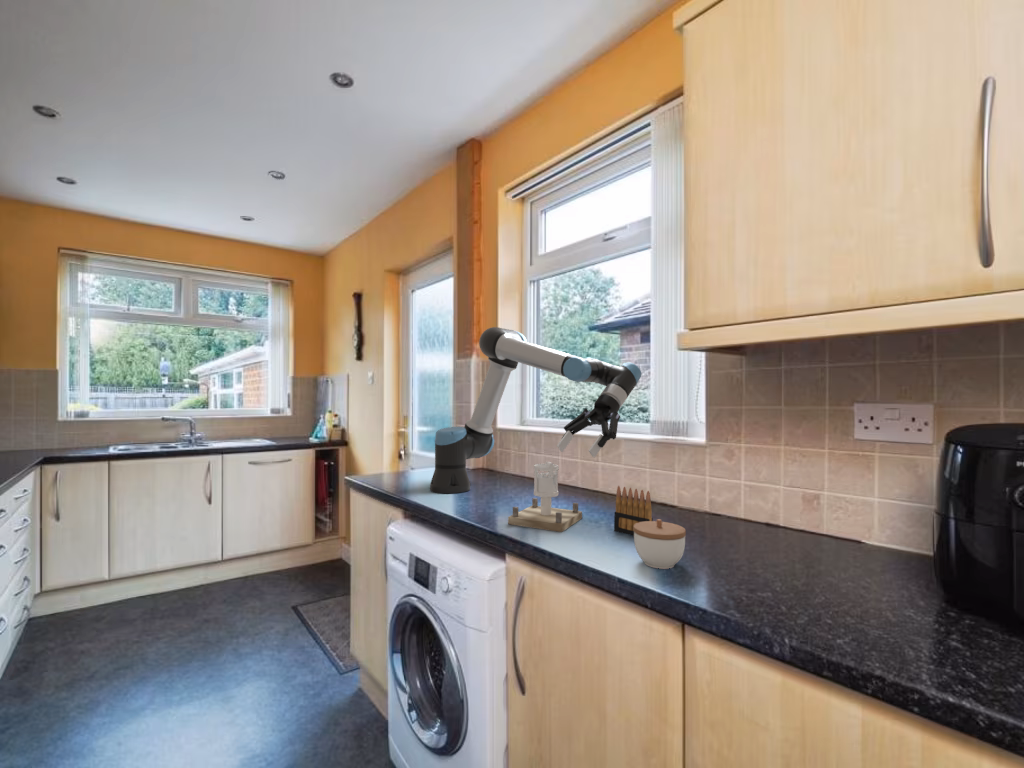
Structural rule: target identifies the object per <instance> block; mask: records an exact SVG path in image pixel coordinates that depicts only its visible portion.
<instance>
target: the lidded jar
mask: <svg viewBox="0 0 1024 768" xmlns="http://www.w3.org/2000/svg"><path fill="white" fill-rule="evenodd" d="M633 530H634V536H633V539H634V540H633V541H634V546H635V547H634V548H635V550H636V553H637V555H638V556H639V558H640V559H641V560H642V561H643V562H644V564H645V565H646V566H647V567H650V568H653V569H658V568H659V570H669V568H670V569H672V568H674V567H675V565H677V563H678V562H679V561H681V559H682V557H683V555H684V553H685V546H686V535H687V532H686V531H687V530H686V528H685V527H683V526H681V525H680V524H676V523H672V522H667V521H662V519H660V518H658V519H657V518H656V520H653V521H644V522H639V523H636V524H634V526H633Z"/></svg>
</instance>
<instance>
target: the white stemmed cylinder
mask: <svg viewBox="0 0 1024 768" xmlns="http://www.w3.org/2000/svg"><path fill="white" fill-rule="evenodd" d="M533 470H534V472H533V473H534V474H533V476H534V480H533V481H534V483H533V485H534V486H533V496H535V497H539V498H540V506H541V515H551V508H552V498H555V497H558V496H559V464H554V462H551V461H545V463H536V464H534V465H533ZM540 471H541V472H540ZM539 472H540V473H539Z"/></svg>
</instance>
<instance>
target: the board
mask: <svg viewBox="0 0 1024 768" xmlns="http://www.w3.org/2000/svg"><path fill="white" fill-rule="evenodd" d="M531 500H532V505H530V506H528V507H526V508H524V509H522V510H520V511H519V506H512V514H511V515H510V516H508V517H507V523H508V525H511V526H519V527H525V528H532V529H538V530H547V531H552V532H559V533H563V532H564V531H566V530H567V529H568V528H570V527H572V526H573V525H575V524H576V523H577V522H579V521H580V520H582V519H583V511H581V510H579V502H572V509H565V508H557V507H551V515H541V505H539V503H538V501H539V499H538V497H533V498H532V499H531Z"/></svg>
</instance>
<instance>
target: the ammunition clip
mask: <svg viewBox="0 0 1024 768" xmlns="http://www.w3.org/2000/svg"><path fill="white" fill-rule="evenodd" d="M626 488H627V487H626V486H624V487H623V488H622V490H621V487H620V485H617V489H616V496H615V497H616V498H615V511H614V520H613V521H614V524H613V531H614V532H618V533H621V534H625V535H629V536H632V537H634V530H633V526H634V524H636V523H639V522H644V521H654V519H653V517H652V515H653V514H652V503H651V499H652V498H651V494H650V491H649V490H647V492H646V496H645V492H644V489H641V490H640V493H639V491H638V489H637V488H635V490H634V493H633V489H632V487H629V489H628V492H627V489H626ZM627 493H628V494H627Z"/></svg>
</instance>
